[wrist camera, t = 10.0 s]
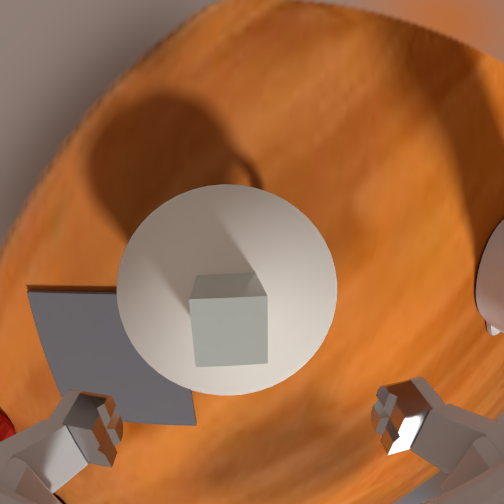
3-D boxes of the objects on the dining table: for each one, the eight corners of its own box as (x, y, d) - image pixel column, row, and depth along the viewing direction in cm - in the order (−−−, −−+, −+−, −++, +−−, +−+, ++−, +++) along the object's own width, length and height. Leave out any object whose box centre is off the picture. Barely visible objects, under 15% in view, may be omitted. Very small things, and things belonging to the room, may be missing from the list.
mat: (179, 291, 25) (178, 294, 25) (196, 421, 29) (196, 425, 29) (30, 289, 24) (27, 292, 23) (70, 410, 28) (69, 413, 27)
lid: (332, 185, 16) (375, 179, 11) (324, 377, 18) (352, 423, 13) (114, 192, 15) (74, 188, 10) (138, 386, 17) (119, 436, 12)
